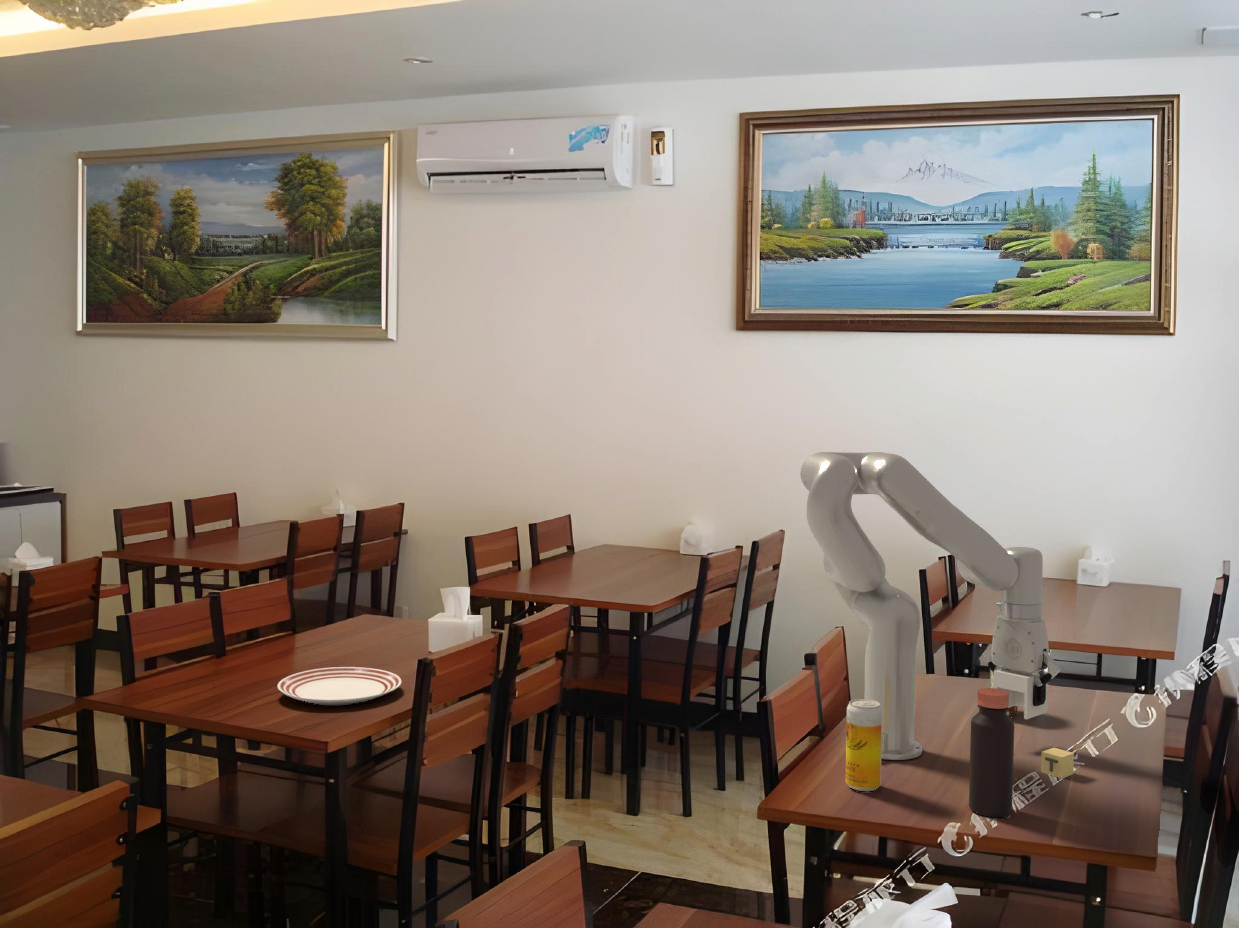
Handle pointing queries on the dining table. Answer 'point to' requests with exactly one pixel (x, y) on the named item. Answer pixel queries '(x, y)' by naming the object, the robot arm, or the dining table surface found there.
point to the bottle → (991, 755)
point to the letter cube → (1057, 762)
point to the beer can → (863, 744)
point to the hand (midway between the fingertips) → (1020, 699)
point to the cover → (1019, 690)
